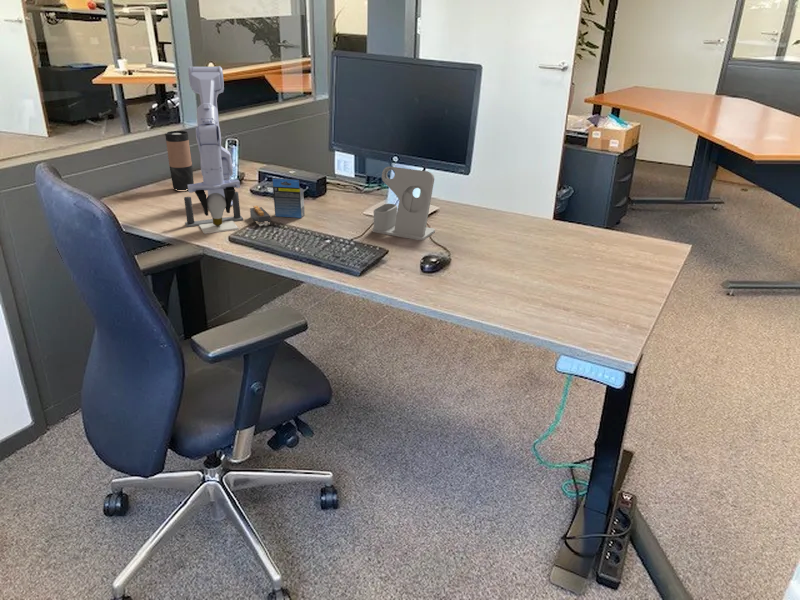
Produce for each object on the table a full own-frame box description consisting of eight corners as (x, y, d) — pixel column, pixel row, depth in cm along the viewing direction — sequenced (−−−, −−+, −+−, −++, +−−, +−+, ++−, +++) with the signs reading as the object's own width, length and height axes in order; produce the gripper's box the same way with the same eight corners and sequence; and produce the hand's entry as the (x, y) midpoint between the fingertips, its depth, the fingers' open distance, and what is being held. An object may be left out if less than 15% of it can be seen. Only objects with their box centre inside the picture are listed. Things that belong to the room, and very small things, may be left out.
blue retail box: (305, 215, 200) (303, 176, 195) (301, 218, 196) (299, 180, 191) (278, 213, 201) (276, 175, 196) (274, 216, 198) (271, 178, 193)
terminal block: (250, 217, 196) (249, 205, 195) (262, 216, 198) (261, 204, 196) (259, 226, 188) (258, 214, 187) (271, 225, 190) (270, 212, 188)
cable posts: (185, 224, 189) (181, 196, 186) (241, 217, 196) (238, 190, 193) (186, 227, 187) (183, 199, 183) (243, 220, 194) (240, 193, 190)
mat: (199, 226, 188) (199, 224, 188) (232, 222, 192) (232, 220, 192) (204, 233, 182) (204, 232, 182) (238, 229, 186) (238, 227, 186)
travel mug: (199, 189, 226) (192, 132, 217) (179, 193, 221) (171, 135, 212) (188, 185, 231) (181, 130, 222) (168, 189, 225) (160, 132, 217)
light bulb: (216, 230, 183) (213, 196, 179) (203, 226, 186) (200, 193, 182) (232, 226, 187) (229, 193, 183) (219, 221, 191) (217, 189, 186)
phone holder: (369, 231, 186) (369, 171, 179) (385, 222, 195) (385, 164, 187) (422, 240, 179) (424, 179, 172) (436, 231, 188) (439, 171, 180)
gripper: (188, 173, 173) (194, 220, 179) (240, 168, 179) (244, 214, 185) (184, 167, 179) (190, 213, 184) (234, 163, 185) (239, 207, 190)
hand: (217, 213), depth 185 cm, fingers closed on light bulb, 6 cm apart
